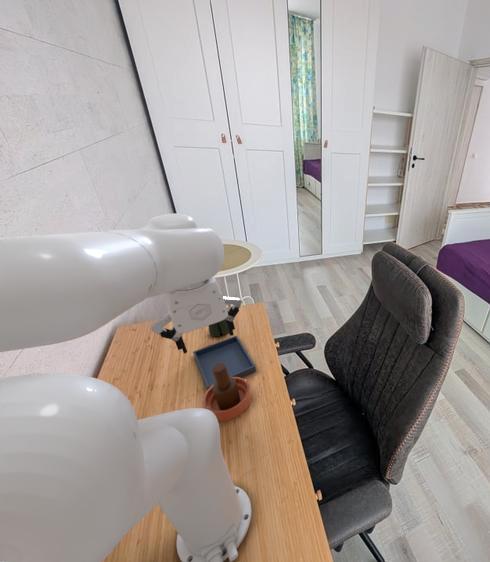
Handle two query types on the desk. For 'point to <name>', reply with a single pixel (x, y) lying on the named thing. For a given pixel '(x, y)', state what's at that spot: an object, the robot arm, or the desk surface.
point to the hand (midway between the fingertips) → (208, 340)
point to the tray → (224, 360)
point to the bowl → (235, 411)
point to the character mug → (219, 326)
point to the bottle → (225, 388)
